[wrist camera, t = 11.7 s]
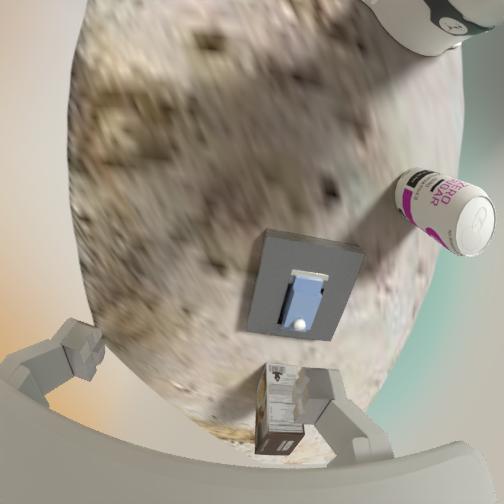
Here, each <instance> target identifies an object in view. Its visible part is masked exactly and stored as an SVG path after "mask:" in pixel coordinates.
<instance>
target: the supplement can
mask: <svg viewBox="0 0 504 504" xmlns="http://www.w3.org/2000/svg"><path fill="white" fill-rule="evenodd" d="M395 203H396V206H397V209H398V211H399V212H400V214H401V215H402V216H403V217H404V218H405V219H407V220H408V221H410V222H411V223H413V224H414V225H416V226H417V227H418V228H420V229H421V230H423V231H424V232H425V233H427V234H428V235H430V236H431V237H432V238H434V239H435V240H436V241H438V242H439V243H440V244H442V245H443V246H444V247H446V248H447V249H448V250H450V251H451V252H452V253H454V254H456V255H457V256H467V257H470V256H471V257H474V256H476V255H478V254H480V253H481V252H482V251H483V250H484V249H486V247H487V246H488V244H489V243H490V241H491V240H492V237H493V234H494V231H495V228H496V209H495V207H494V205H493V202H492V201H491V200H490V199H489V197H488V196H487V194H486V193H485V192H484V191H483V190H482V189H481V188H479V187H477V186H474V185H471V184H469V183H466V182H463V181H460V180H458V179H455V178H452V177H449V176H446V175H443V174H440V173H436V172H433V171H430V170H427V169H423V168H413V169H409V170H408V171H407V172H405V173H404V174H403V175H402V176H401V178H400V180H399V181H398V183H397V186H396V190H395Z"/></svg>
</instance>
